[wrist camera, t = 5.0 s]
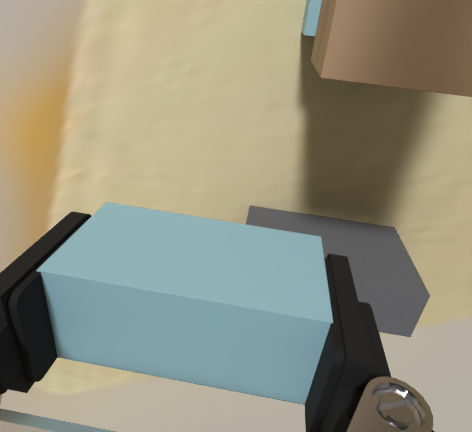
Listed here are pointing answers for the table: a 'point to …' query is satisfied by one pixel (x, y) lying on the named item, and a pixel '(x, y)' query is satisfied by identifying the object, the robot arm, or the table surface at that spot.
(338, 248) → the block
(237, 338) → the batten
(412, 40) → the slab
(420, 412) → the robot arm
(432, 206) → the table surface
